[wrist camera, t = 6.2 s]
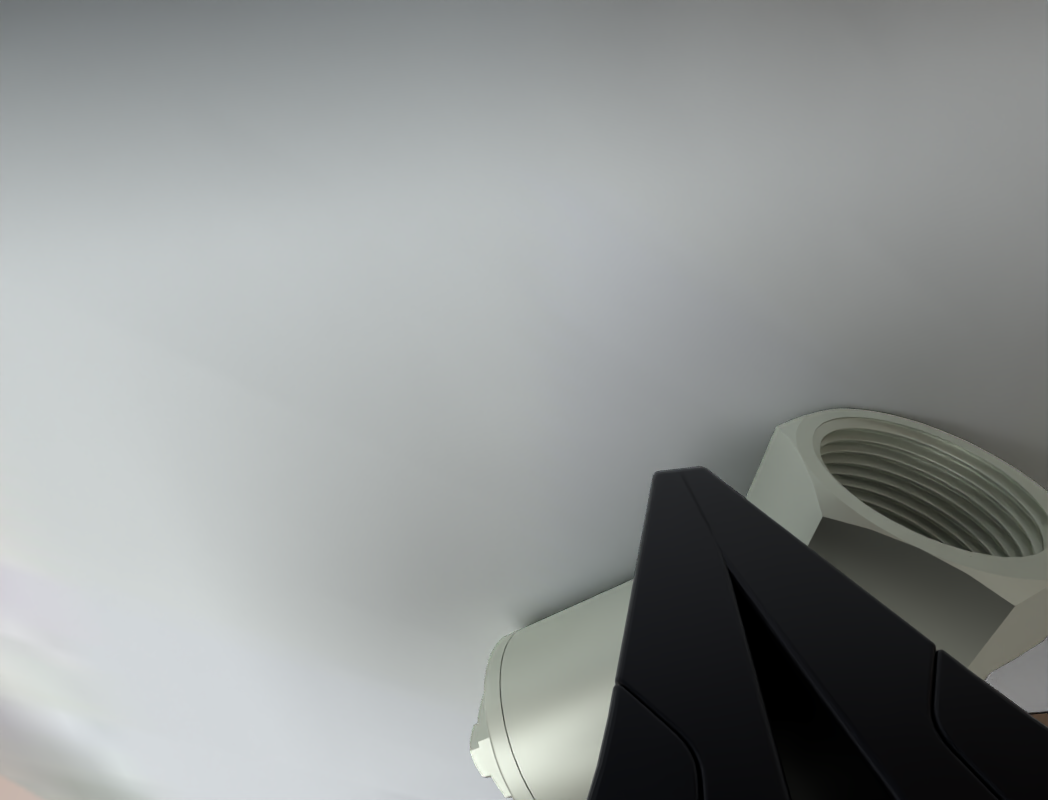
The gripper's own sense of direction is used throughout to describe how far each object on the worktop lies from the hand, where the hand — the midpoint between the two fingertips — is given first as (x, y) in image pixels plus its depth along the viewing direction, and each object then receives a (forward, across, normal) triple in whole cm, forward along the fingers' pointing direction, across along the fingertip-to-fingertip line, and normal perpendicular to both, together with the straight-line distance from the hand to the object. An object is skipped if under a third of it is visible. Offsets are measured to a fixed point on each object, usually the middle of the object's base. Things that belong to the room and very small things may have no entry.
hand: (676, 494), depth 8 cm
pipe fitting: (+2, 0, +4) cm, 4 cm away
